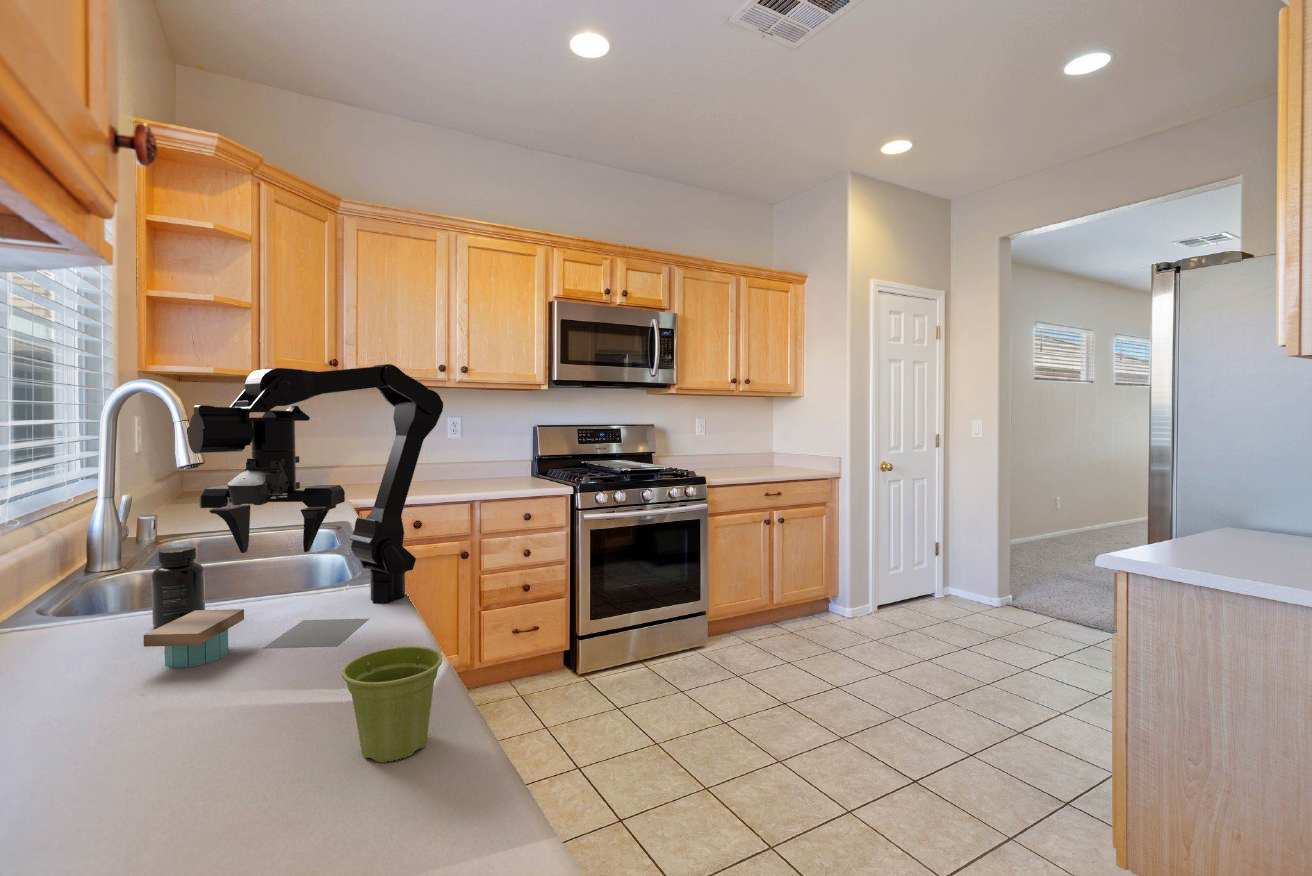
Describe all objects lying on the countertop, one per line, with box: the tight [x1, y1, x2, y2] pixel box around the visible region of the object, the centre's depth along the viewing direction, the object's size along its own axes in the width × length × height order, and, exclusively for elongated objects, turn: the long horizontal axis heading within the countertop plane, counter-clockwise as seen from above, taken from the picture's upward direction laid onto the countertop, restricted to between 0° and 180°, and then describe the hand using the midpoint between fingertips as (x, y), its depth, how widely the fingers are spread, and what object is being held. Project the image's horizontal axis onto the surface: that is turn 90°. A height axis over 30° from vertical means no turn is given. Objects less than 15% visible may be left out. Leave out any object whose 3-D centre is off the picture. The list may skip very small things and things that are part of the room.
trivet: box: [262, 618, 369, 649], centre depth 93 cm, size 12×10×1 cm
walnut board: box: [143, 608, 245, 648], centre depth 84 cm, size 10×6×2 cm, turn 5°
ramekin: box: [164, 628, 229, 668], centre depth 84 cm, size 7×7×4 cm
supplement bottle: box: [150, 546, 206, 629], centre depth 101 cm, size 7×7×12 cm
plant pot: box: [340, 645, 443, 763], centre depth 63 cm, size 9×9×9 cm
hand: (275, 552), depth 96 cm, fingers open, 9 cm apart
